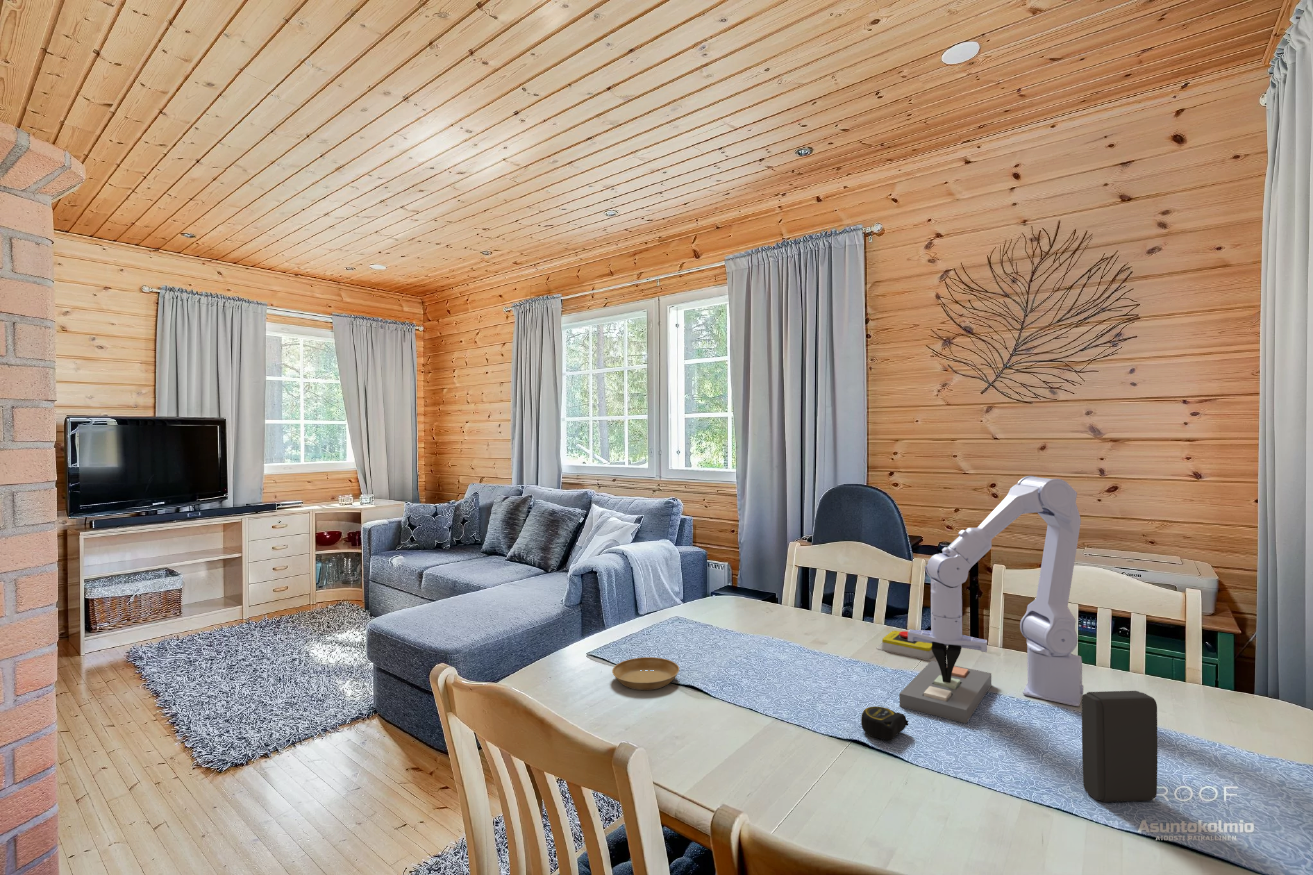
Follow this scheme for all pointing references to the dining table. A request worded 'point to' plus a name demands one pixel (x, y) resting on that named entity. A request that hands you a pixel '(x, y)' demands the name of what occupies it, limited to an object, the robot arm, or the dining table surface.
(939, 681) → the sage button
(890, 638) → the emergency button
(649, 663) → the plant saucer
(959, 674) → the terracotta button
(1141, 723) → the dark brown upright block
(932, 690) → the cream button
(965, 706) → the button panel
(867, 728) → the tape measure
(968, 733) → the dining table surface
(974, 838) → the dining table surface
